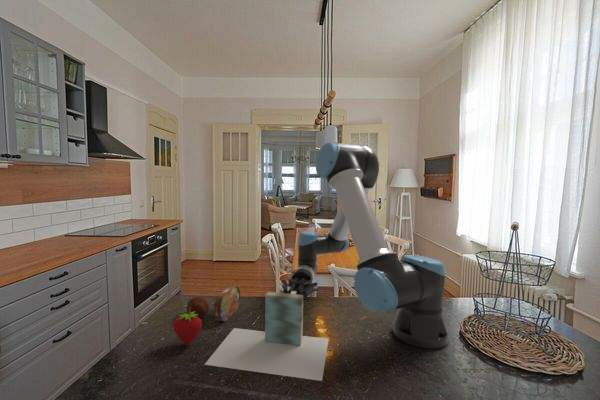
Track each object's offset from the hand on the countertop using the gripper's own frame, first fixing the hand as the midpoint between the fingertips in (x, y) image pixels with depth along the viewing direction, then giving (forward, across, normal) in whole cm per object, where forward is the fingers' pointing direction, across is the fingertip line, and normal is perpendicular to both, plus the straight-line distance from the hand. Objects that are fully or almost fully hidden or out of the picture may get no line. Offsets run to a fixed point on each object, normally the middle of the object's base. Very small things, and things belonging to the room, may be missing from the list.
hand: (289, 303), depth 89 cm
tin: (-5, +22, -8) cm, 24 cm away
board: (+8, 0, -8) cm, 11 cm away
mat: (+13, +2, -8) cm, 15 cm away
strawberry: (+14, +25, -8) cm, 30 cm away
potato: (-2, +31, -8) cm, 32 cm away
